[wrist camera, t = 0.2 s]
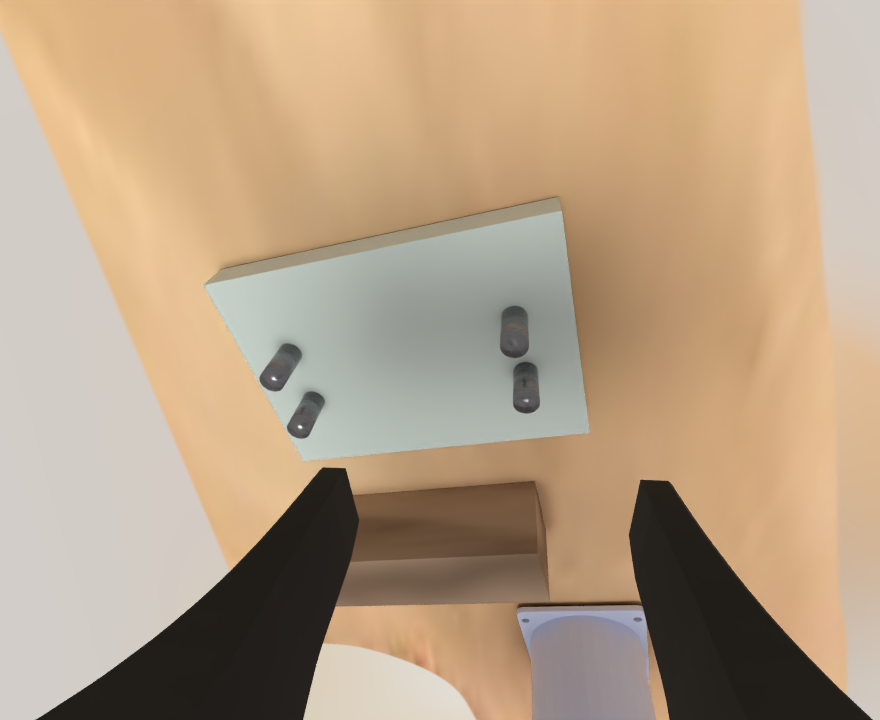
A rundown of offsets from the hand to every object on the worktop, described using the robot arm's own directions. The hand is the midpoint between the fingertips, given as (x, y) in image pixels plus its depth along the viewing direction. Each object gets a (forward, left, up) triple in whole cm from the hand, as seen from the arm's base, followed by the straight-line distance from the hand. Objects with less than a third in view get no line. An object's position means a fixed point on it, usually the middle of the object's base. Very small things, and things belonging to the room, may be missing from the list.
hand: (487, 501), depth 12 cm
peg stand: (-1, +4, -10) cm, 11 cm away
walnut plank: (-12, +6, -10) cm, 17 cm away
